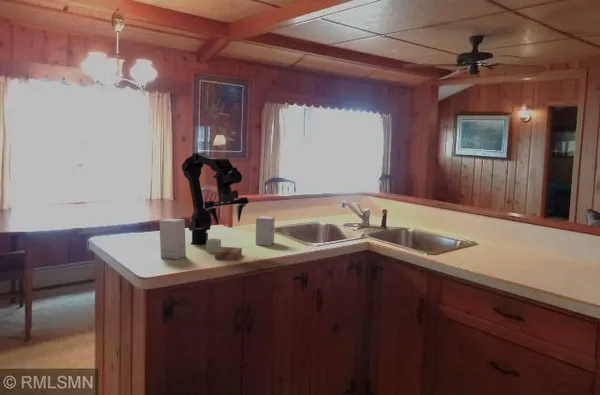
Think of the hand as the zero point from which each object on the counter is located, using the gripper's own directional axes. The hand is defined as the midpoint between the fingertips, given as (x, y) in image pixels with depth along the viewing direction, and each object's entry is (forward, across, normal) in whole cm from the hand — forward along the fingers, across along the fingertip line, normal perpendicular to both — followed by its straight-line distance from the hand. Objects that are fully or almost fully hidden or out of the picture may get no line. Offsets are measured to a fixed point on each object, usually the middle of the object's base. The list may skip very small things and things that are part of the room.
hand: (228, 223), depth 198 cm
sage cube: (+11, -7, +7) cm, 15 cm away
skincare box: (+11, -24, 0) cm, 27 cm away
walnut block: (+14, -3, -4) cm, 15 cm away
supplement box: (+12, +19, +17) cm, 28 cm away
